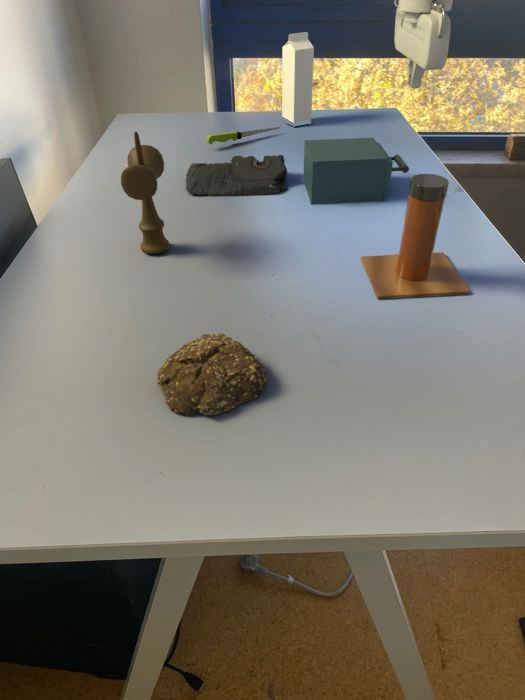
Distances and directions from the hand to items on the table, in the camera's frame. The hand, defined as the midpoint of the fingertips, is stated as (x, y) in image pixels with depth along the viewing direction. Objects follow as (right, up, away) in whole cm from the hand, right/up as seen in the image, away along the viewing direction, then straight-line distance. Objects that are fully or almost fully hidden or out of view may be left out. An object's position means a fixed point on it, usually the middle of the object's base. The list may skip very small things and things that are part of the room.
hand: (413, 86), depth 97 cm
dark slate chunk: (-34, -13, +17) cm, 40 cm away
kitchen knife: (-33, +5, +38) cm, 50 cm away
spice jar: (-5, -37, -15) cm, 40 cm away
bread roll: (-35, -54, -32) cm, 72 cm away
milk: (-19, +14, +49) cm, 55 cm away
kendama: (-47, -32, -6) cm, 57 cm away
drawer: (-8, -15, +12) cm, 20 cm away
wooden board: (-5, -38, -14) cm, 41 cm away
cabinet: (-12, -16, +12) cm, 23 cm away
